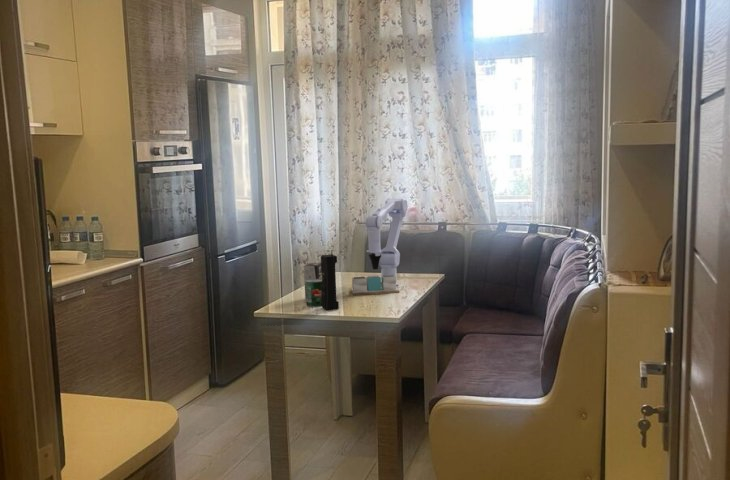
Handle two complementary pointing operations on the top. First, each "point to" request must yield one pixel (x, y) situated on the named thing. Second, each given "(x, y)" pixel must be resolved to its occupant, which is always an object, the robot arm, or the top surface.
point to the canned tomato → (313, 292)
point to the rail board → (361, 289)
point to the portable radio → (328, 282)
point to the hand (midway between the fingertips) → (375, 269)
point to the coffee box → (312, 272)
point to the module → (373, 283)
